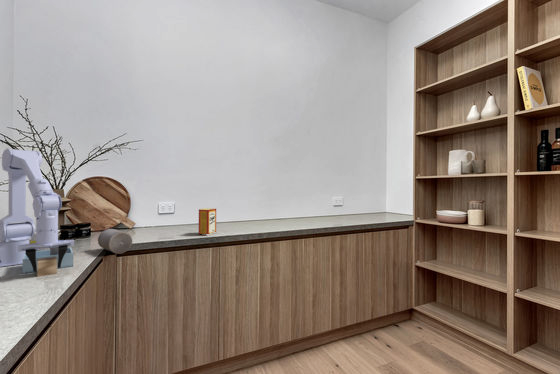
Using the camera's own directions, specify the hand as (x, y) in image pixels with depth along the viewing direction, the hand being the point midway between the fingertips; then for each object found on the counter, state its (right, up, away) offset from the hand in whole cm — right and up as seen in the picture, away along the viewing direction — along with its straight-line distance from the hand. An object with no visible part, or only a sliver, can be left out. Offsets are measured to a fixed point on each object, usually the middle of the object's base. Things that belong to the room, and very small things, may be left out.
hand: (47, 269), depth 93 cm
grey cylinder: (-4, -1, +10) cm, 10 cm away
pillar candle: (-1, +4, +35) cm, 36 cm away
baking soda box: (+35, -1, +75) cm, 83 cm away
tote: (-6, -1, +8) cm, 10 cm away
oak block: (0, -2, 0) cm, 2 cm away
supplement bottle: (-32, -1, +33) cm, 46 cm away
